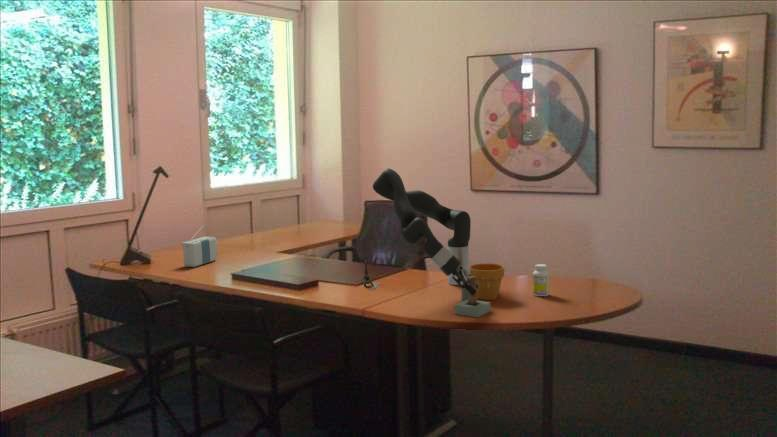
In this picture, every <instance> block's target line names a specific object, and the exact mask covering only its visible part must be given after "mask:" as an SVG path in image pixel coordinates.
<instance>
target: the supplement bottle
mask: <svg viewBox="0 0 777 437" xmlns="http://www.w3.org/2000/svg"><path fill="white" fill-rule="evenodd" d="M534 266H535V267H534V269H535V270H534V271H533V272H532V295H533V296H534V295H535V297H538V296H545V297H547V296H550V272H549V271H548V270H547V268H548V267H547V266H548V265H547V264H544V263H543V264H542V263H541V264H540V263H538V264H535V265H534Z"/></svg>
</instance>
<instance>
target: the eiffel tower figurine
mask: <svg viewBox="0 0 777 437" xmlns="http://www.w3.org/2000/svg"><path fill="white" fill-rule="evenodd" d="M364 264H365V265H364V274H363V277H362V280H361V281H360V284H362V285H364V287H365V288H368V289H369V290H370V291H373V290H375V289H376V288H378V287H379V286H380V285H381V283H379V282H372V281H371V278H370V277H369V273H368V263H367V259H365V262H364ZM372 283H373V284H372ZM360 284H359V285H360ZM366 284H371V285H369V286H368V287H366ZM364 287H363V288H364ZM370 287H373V288H370Z"/></svg>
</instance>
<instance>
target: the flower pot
mask: <svg viewBox="0 0 777 437" xmlns="http://www.w3.org/2000/svg"><path fill="white" fill-rule="evenodd" d="M469 274H470V275H471V276H475V277H476V284H477V285H478V288H477V289H476V296H477V299H479V300H482V301H483V300H484V301H489V300H490V299H492V300H496V299H498V296H499V293H500V289H501V288H500V287H501V283H502V280H503V278H504V277H505V266H504V265H501V264H499V263H476V264H472V265H469Z"/></svg>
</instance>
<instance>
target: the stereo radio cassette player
mask: <svg viewBox="0 0 777 437" xmlns="http://www.w3.org/2000/svg"><path fill="white" fill-rule="evenodd" d="M204 226H205V224H203V225H202V226H201V227H200V228H199V230H197V232H195V234H194V235H193V236H192V237H191V238H190V240H187V241H183V242H181V247H182V252H183V266H184V267H186V268H187V267H188V268H193V267H194V268H195V267H199V266H201V265H204V264H208V263H211V262H215V261H216V260H217V259H218V244H217V238H216V237H215V236H202V237H198V238H195V236H196V235H198V233H199V232H200V230H201V229H203V227H204Z"/></svg>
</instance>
